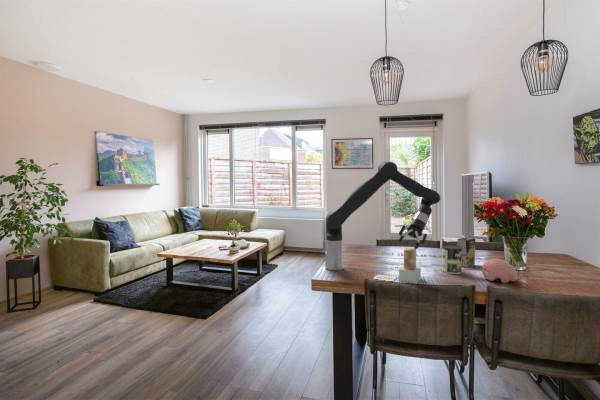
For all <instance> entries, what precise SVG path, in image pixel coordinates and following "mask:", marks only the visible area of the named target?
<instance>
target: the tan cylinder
mask: <svg viewBox="0 0 600 400" xmlns="http://www.w3.org/2000/svg"><path fill="white" fill-rule="evenodd" d="M403 265H404V269H408V270H414V269H415V268H416V267H417V249H414V248H411V247H410V248H409V247H406V248H404V249H403Z"/></svg>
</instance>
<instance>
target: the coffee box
mask: <svg viewBox="0 0 600 400" xmlns="http://www.w3.org/2000/svg"><path fill="white" fill-rule="evenodd" d="M456 246H460V247H462V265H461V267H462V268H463V267H464V268H469V267H472V266H475V264H476V263H475V262H476V238H473V237H466V236H465V237H460V238H457V245H456Z"/></svg>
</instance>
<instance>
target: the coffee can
mask: <svg viewBox="0 0 600 400" xmlns="http://www.w3.org/2000/svg"><path fill="white" fill-rule="evenodd" d="M461 265H462V247H460V246H457V245H455V244H445V245H441V272H443V271H444V272H443V273H445V272H446V273H445V274H449V273H450V274H452V275H460V274H461V273H462V266H461ZM450 274H449V275H450Z"/></svg>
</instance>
